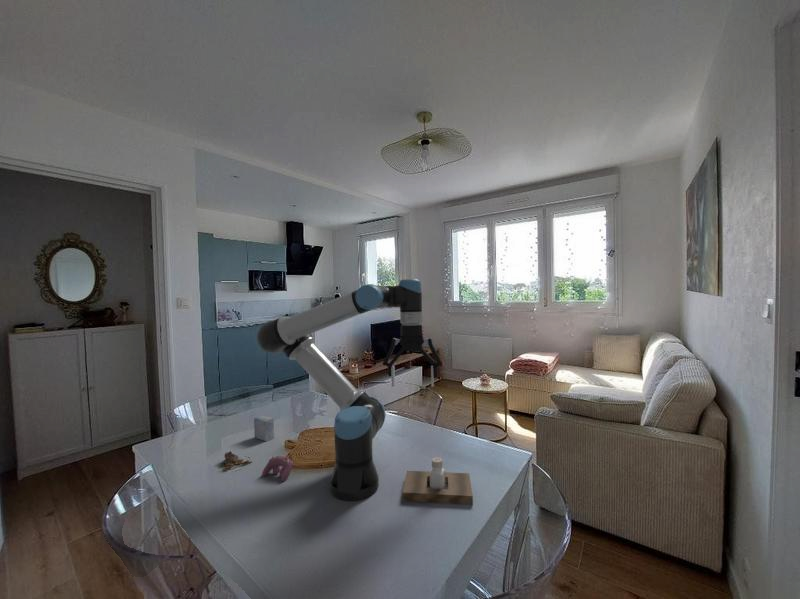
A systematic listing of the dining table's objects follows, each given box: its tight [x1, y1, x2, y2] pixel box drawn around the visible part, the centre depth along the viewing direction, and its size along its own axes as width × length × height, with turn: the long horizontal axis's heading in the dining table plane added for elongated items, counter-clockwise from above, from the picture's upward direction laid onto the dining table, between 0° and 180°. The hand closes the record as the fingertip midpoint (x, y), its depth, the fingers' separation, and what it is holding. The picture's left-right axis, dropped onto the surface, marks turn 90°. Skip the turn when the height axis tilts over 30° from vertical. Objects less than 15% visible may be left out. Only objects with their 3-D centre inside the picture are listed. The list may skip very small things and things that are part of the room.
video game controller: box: [261, 455, 294, 483], centre depth 111 cm, size 10×5×7 cm, turn 66°
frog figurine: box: [220, 451, 253, 473], centre depth 119 cm, size 12×12×4 cm
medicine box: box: [253, 415, 275, 442], centre depth 141 cm, size 8×4×9 cm, turn 58°
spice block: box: [402, 470, 474, 506], centre depth 99 cm, size 20×12×2 cm, turn 83°
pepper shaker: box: [429, 457, 446, 489], centre depth 99 cm, size 4×4×10 cm
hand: (412, 385), depth 112 cm, fingers open, 13 cm apart
